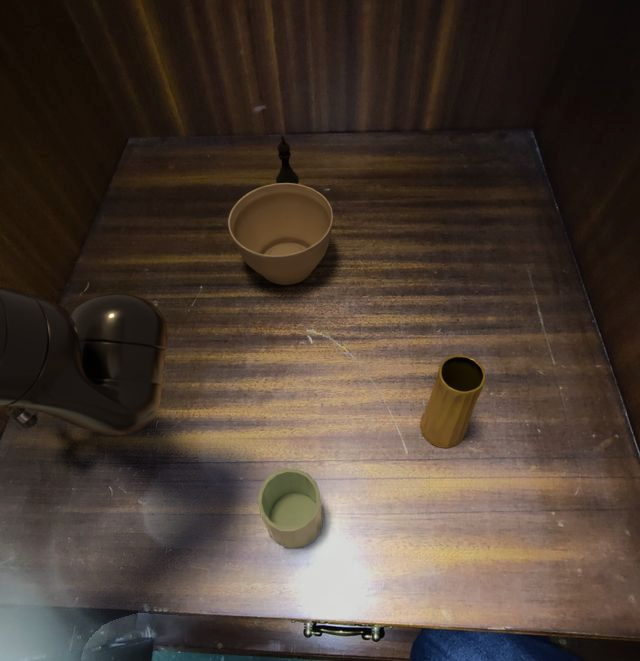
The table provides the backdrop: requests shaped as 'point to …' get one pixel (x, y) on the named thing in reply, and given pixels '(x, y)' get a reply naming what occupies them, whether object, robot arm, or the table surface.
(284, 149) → the chess piece
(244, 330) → the table surface
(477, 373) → the vase
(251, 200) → the planter bowl
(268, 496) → the cup
